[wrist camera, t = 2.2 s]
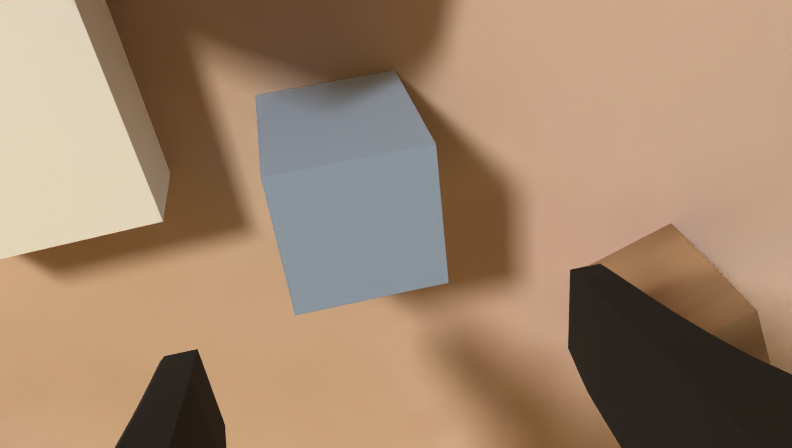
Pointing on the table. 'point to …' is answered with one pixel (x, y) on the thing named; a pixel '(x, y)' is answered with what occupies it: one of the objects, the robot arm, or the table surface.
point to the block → (689, 288)
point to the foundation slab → (71, 129)
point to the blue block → (351, 191)
